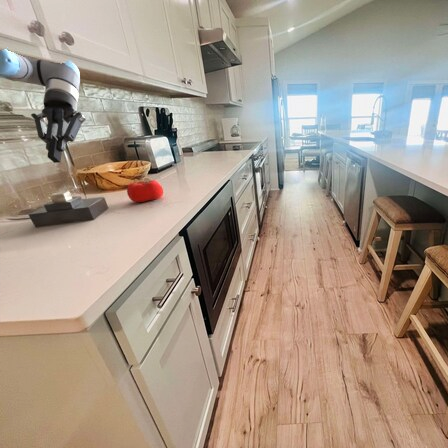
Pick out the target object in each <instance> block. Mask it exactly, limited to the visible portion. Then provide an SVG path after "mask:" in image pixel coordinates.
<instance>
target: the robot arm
mask: <svg viewBox="0 0 448 448" xmlns="http://www.w3.org/2000/svg"><path fill="white" fill-rule="evenodd" d="M14 52H15V51H14ZM14 52H11V51H8V50H7V49H4V50H0V79H4V80H9V81H12V82H19V83H26V84H30V85H37V86H42V87H45V88H44V95H43V101H42V102H43V109H42V110H41V113H38V114H36V113H35V112H33V113H31V114H30V116H31V117H32V119H33V120H34V124H35V129H36V132H37V137H38V138H39V139H40V140H41V141H42V142H44V143H45V149H46V150H47V158H48V159H49V160H50V161H51V162H53V163H54V164H57V163H61V162H62V153H63V152H65V151H66V145H67V143H74V142H75V140H76V138H77V135H78V133H79V131H80V128H81V126H82V124H83V123H84V122H86V117H85V116H84V115H83V113H82V112H80V111H78V101H79V90H80V84H81V76H80V75H81V74H80V70H79V68H78V67H77V64H75V63H74V62H73V61H71V60H69V62H66V63H62V64H60V63H54V62H49V61H46V60H43V59H37V58H33V57H29V56H25V57H23V56H24V55H22V54H20V55H18V54H19V53H18V54H16V53H17V52H16V53H14ZM21 55H22V56H21ZM28 57H29V58H28ZM32 58H33V59H32ZM46 120H47V124H46Z"/></svg>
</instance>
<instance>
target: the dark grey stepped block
mask: <svg viewBox="0 0 448 448" xmlns="http://www.w3.org/2000/svg"><path fill="white" fill-rule="evenodd" d="M72 198H73V199H71V200H69V201H66V202H57V203H53V202H52V200H51V201H49V202H47V203H45V204H43V206H42V207H40V208H39V209H36V210H35V211H32V212H30V213H28V217H29V219H30V221H31V222H32V224H33V227H34V228H35V229H36V228H43V227H51V226H58V225H66V224H73V223H80V222H81V223H82V222H88V221H94V220H96V219H97V218H98V217H99V216H101V215H102V214H103V213H105V212H106V211H107V210H108V209H109V205H108V203H107V200H106V197H105V196H97V197H90V198H82V196H81V195H79V196H78V195H77V196H72Z"/></svg>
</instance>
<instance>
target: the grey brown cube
mask: <svg viewBox="0 0 448 448" xmlns="http://www.w3.org/2000/svg"><path fill="white" fill-rule="evenodd" d="M72 197H73V196H72V193H71V192H70V191H60V192H59V191H58V192H55V193H52V194H49V198H50V200H51V201H52V202H53V203H57V202H66V201H69V200H71V199H73V198H72Z"/></svg>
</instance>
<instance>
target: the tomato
mask: <svg viewBox="0 0 448 448" xmlns="http://www.w3.org/2000/svg"><path fill="white" fill-rule="evenodd" d="M126 193H127V197H128V198H129V199H130V200H131V201H132V202H136V203H145V202H148V201H155V200H157V199H160V198H161V197H163V195H164V188H163V186H162V185H161V184H160V183H159V181H157V180H155V179H151V180H146V181H145V180H141V181H137V182H132V183H131V182H130V183H129V184H128V185H127V189H126Z"/></svg>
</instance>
